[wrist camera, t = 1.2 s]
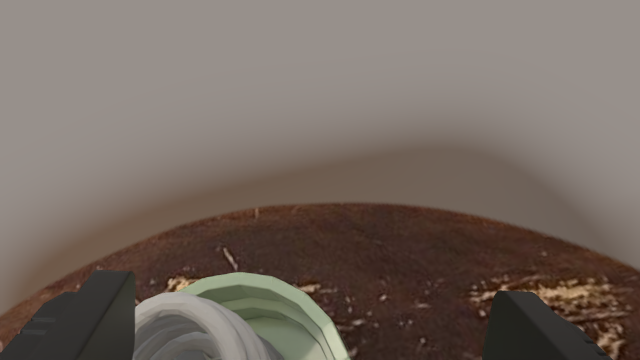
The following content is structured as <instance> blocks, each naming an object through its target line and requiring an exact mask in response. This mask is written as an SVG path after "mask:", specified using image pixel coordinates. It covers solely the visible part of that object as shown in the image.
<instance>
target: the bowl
mask: <svg viewBox="0 0 640 360" xmlns="http://www.w3.org/2000/svg"><path fill="white" fill-rule="evenodd" d="M177 292H185V293H189V294H194V295H196V296H198V297H201V298H205V299H209V300H212V301H214V302H216V303H218V304H220V305H222V306H223V307H225V308H226V309H229V310H231V311H232V312H234V313H236V314H237V315H239V316H240V317H241V318H242V319H243V320H244V321H245V322H246V323H247V324H249V325H250V326H251V327H252V329H253V330H254V332H255V333H256V334H258V335H259V336H261V337H263V338H264V339H266V340H267V341H269V342H270V343H271V344H272V345H273V346H274V348H275V349H276V350H277V351H278V352H279V353H280V354H281V355H282V356H283V358H284V360H355V359H354V357H353V355H352V353H351V351H350V349H349V346H348V344H347V342H346V340H345V339H344V337H343V336H342V334H341V333H340V331H339V330H338V328H337V327H336V325H335V324H334V322H333V321H332V320H331V318H330V317H329V316H328V315H327V314H326V313H325V312H324V311H323V310H322V309H321V308H320V307H319V306H318V305H317V304H316V303H315V302H314V301H313V300H312V299H311V298H310V296H309V295H308V294H306V293H305V292H303V291H301V290H299V289H297V288H295V287H293V286H291V285H289V284H288V283H286V282H284V281H282V280H280V279H278V278H274V277H272V276H265V275H259V274H252V273H245V272H235V273H230V274H224V275H218V276H212V277H207V278H203V279H201V280H199V281H197V282H195V283H193V284H191V285H189V286H187V287H185V288H183V289H181V290H179V291H177ZM199 332H200V331H199ZM201 333H206V332H201Z"/></svg>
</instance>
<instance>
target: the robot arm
mask: <svg viewBox="0 0 640 360" xmlns="http://www.w3.org/2000/svg"><path fill="white" fill-rule="evenodd" d="M134 345H135V276H134V273H133V272H131V271H111V270H95V271H94V272H93V273H92V275H91V276H90V277H89V278H88V280H87V281H86V282H85V284H84V285H83V286H82V287H81V289H80V290H79V291H78V292H64V293H62V294H61V295H59V296H57V297H55V298H53V299H52V300H50V301H48V302H46V303H44V304H43V305H42V307H41V308H40V309H39V310H38V311H37V312H36V313H35V314H34V316H33V317H32V318H31V321H28V322H27V324H26V325H25V326H24V327H23V328H22V329H21V330H20V334H17V335H16V336H15V337H14V338H13V339H12V341H11V342H10V343H9V344H8V345H7V346H6V347H5V349H4V350H3V351H2V352H1V353H0V360H132V358H133V352H134ZM482 360H613V359H612V358H611V357H610V356H606V353H605V352H604V351H603V350H602V349H601V348H600V347H599V346H598V345H597V344H593V341H592V340H591V339H590V338H589V337H588V336H587V335H586V334H585V333H584V332H583V331H582V330H581V329H580V328H579V327H577V326H575V325H574V324H572V323H570V322H569V321H567V320H565V319H563V318H562V317H560V316H558V315H557V314H556V313H555V312H554V311H553V310H552V309H551V308H549V307H548V306H547V305H546V304H545V303H544V302H543V301H542V300H541V299H540V298H539V297H538V296H537V295H536V294H535V293H533V292H522V291H502V290H500V291H498V292H497V293H496V294H495V296H494V298H493V302H492V307H491V312H490V317H489V322H488V327H487V332H486V337H485V342H484V347H483V354H482Z"/></svg>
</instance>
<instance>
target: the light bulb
mask: <svg viewBox="0 0 640 360" xmlns="http://www.w3.org/2000/svg"><path fill="white" fill-rule="evenodd" d="M199 331H200V332H199ZM201 332H206V333H201ZM132 360H284V358H283V356H282V355H281V354H280V353H279V352H278V351H277V350H276V349H275V348H274V346H273V345H272V344H271V343H270V342H269V341H267V340H266V339H264V338H263V337H261V336H259V335H258V334H256V333H255V332H254V330H253V329H252V327H251V326H250V325H249V324H247V323H246V322H245V321H244V320H243V319H242V318H241V317H240V316H239V315H237V314H236V313H234V312H232V311H231V310H229V309H226V308H225V307H223V306H222V305H220V304H218V303H216V302H214V301H212V300H209V299H205V298H201V297H198V296H196V295H194V294H189V293H185V292H171V293H162V294H159V295H157V296H154V297H152V298H149V299H147V300H144V301H143V302H142V303H140V304H139V305H138V306H136V307H135V345H134V352H133V358H132Z"/></svg>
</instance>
